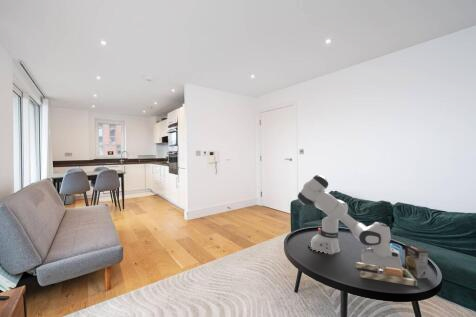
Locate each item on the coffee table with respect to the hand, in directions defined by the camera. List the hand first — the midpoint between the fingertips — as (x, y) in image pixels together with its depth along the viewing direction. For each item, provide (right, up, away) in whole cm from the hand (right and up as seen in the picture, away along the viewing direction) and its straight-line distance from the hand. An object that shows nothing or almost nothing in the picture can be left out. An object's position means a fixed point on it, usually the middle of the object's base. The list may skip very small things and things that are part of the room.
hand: (380, 272), depth 125 cm
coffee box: (+22, -2, +2) cm, 22 cm away
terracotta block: (+6, -2, -2) cm, 7 cm away
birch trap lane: (+3, -2, +1) cm, 3 cm away
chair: (+20, -1, +15) cm, 25 cm away
